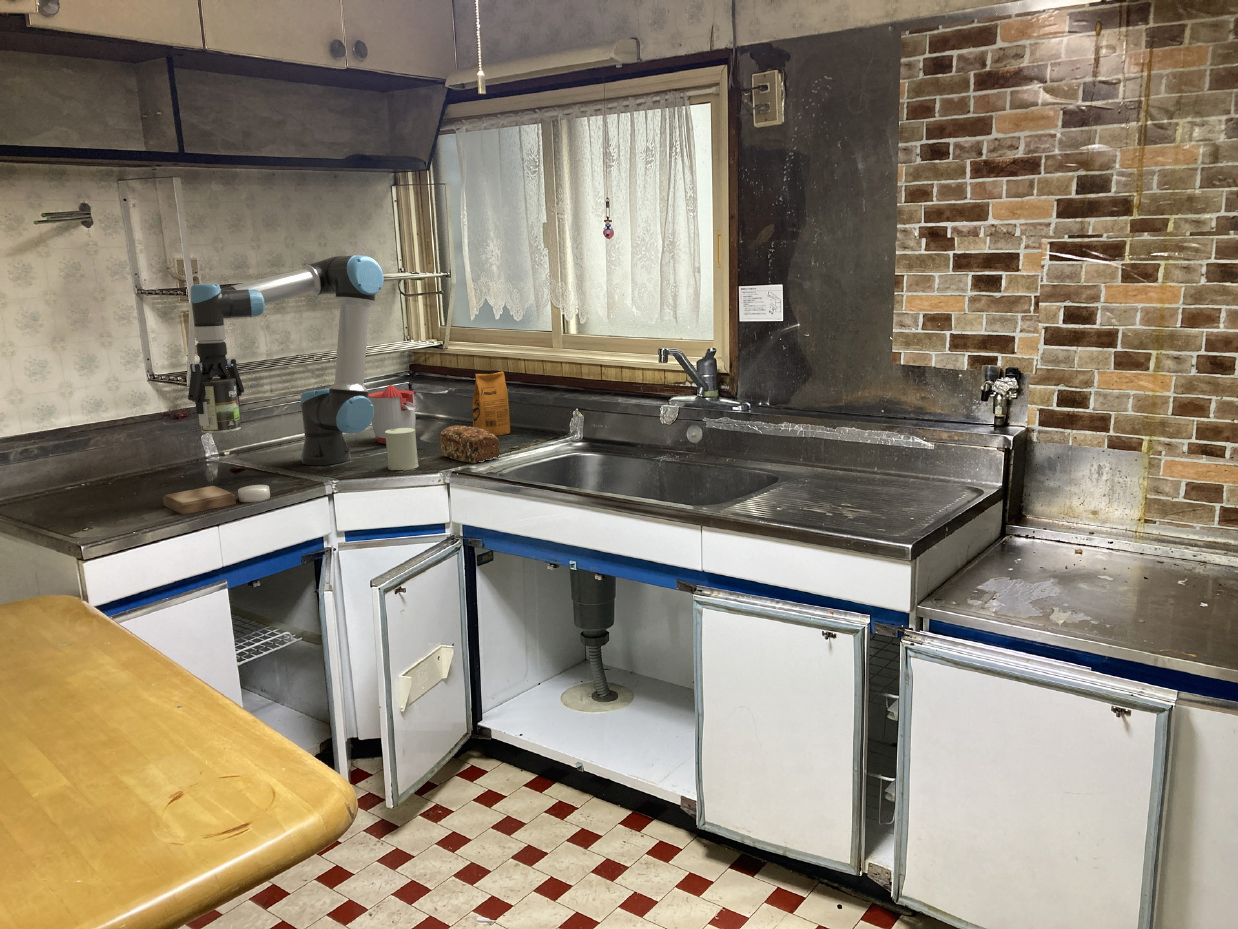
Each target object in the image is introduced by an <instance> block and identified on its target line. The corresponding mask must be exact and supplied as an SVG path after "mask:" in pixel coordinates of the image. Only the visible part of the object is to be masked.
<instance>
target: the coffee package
mask: <svg viewBox="0 0 1238 929" xmlns="http://www.w3.org/2000/svg"><path fill="white" fill-rule="evenodd" d="M474 376H475V383H474V391H473V396H472V427H475V428H481V429H483V430H485V431H488V432H490V433H492V434H494V435H495V436H496V437H498V436H499V437H500V436H502V435H503V436H505V435H508V434H510V433H511V426H510V425H511V424H510V423H511V420H510V409H509V408H510V406H509V394H508V388H507V383H506V376H505V372H504V371H499V372H495V373H489V374H488V373H475V374H474Z"/></svg>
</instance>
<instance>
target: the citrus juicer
mask: <svg viewBox="0 0 1238 929" xmlns="http://www.w3.org/2000/svg"><path fill="white" fill-rule="evenodd" d="M414 395H415V392H414V391H412V390H407V389H406V390H404V389H403V390H402V389H400V390H399V389H397V388H396V387H395V386H394V385H392V384H389V385H387V387H386V388H385V390H383V391H378V392H377V391H376V392H372V393H368V399H369V400H370V401H371V404H373V407H374V417H373V420H372V422H371V427H372V431H373V432H374V436H375V439H376V441H377V442H378V443H379V444H385V445H386V436H385V431H387V430H390V429H396V428H413V429H415V430H416V421H417V420H416V408H417V407H416V404H415V396H414Z"/></svg>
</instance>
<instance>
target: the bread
mask: <svg viewBox="0 0 1238 929" xmlns="http://www.w3.org/2000/svg"><path fill="white" fill-rule="evenodd" d="M439 442H440V444H439V446H440V450H441V454H442V455H443V456H444V458H447V457H448V458H449V459H452V460H456V461H460V462H463V463H464V462H465V463H472V464H473V463H474V464H478V463H477V462H479V461H483V460H486V459H490V458H493V457H498V456H499V457H500V441H499V438H498V436H495V435H494V434H492V433H490V432H488V431H485V430H483V429H481V428H475V427H473V426H466V425H459V424H456V425H454V424H453V425H451V426H447V427H446V428H445V427H444V429H443V430H441V431H440V437H439Z"/></svg>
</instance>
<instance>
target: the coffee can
mask: <svg viewBox="0 0 1238 929" xmlns="http://www.w3.org/2000/svg"><path fill="white" fill-rule="evenodd" d="M235 382H236V379H235V378H231V379H221V378H220V377H215V378H214V377H213V378H212V379H211V380H210V382H200V386H205V392H206V395H205V398H204V401H203V402H207V411H208V419H209V426H200V427H201V431H200V432H201V433H203V434H224V433H225V434H226V433H233V432H237V431H240V430H241V429H242V427H241V422H240V421H241V420H240V419H239V417H240V409H239V410H238V408H239V407H238V401H237V392H236V383H235Z"/></svg>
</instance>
